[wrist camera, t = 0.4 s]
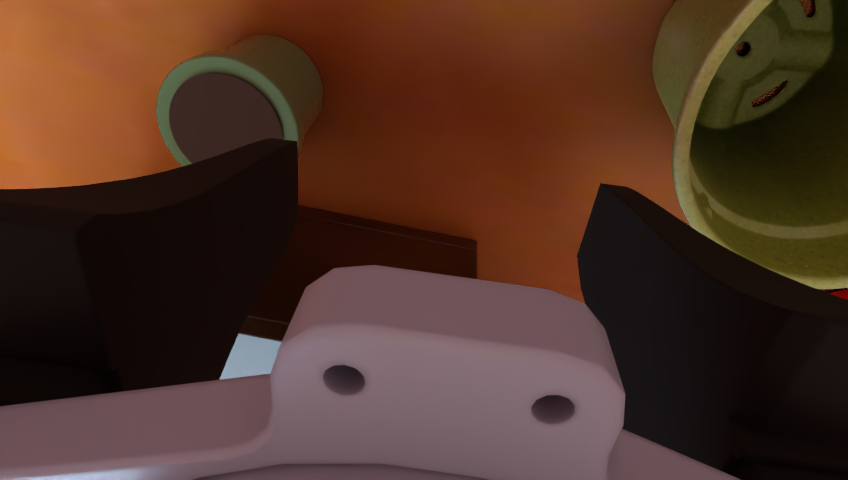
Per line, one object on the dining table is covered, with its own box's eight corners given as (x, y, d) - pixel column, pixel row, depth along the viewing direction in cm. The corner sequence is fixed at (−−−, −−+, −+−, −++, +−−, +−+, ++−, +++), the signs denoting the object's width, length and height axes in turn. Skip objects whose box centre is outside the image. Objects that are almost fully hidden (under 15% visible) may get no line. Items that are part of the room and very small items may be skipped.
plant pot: (552, 42, 20) (597, 121, 13) (803, -187, 16) (1082, -267, 9) (688, 203, 23) (789, 342, 16) (928, 45, 19) (1213, 131, 12)
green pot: (326, 153, 23) (293, 207, 19) (216, 131, 23) (159, 181, 19) (336, 40, 21) (301, 74, 16) (213, 14, 20) (146, 41, 16)
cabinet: (199, 366, 31) (115, 508, 24) (188, 183, 24) (67, 300, 17) (429, 410, 31) (415, 562, 24) (477, 240, 25) (478, 378, 18)
